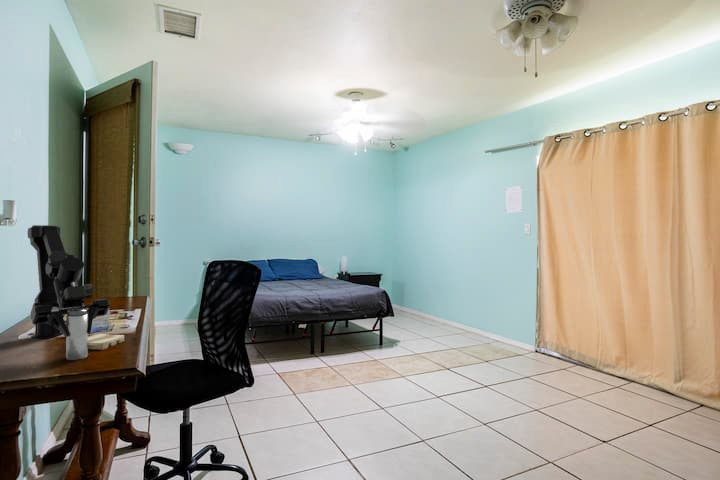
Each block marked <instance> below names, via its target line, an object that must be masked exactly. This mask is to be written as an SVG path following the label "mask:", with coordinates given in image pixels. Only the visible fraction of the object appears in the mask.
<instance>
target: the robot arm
mask: <svg viewBox="0 0 720 480" xmlns="http://www.w3.org/2000/svg"><path fill="white" fill-rule="evenodd" d="M61 237H62V236H61V227H60V226H58V225H54V224H53V225H49V224H47V225H46V224H43V225H42V224H41V225H39V224H34V225H31V226H30V227H29V228H27V238H28V239H29V242H30V245H31V247H33V248H34V249H35V251H36V257H37V271H38V272H37V273H38V285H39V292H38V294H37V295H36V297H35V298H34V302H33V304H32V307H31V310H30V319H31V323H32V324H33V325H35V331H34V332H35V333H34V335H30V336H31V338H33V339H51V338H54V337H57V336H61V335H63V336H64V337H65V338H66V337H68V330H67V327H66V322H65V319H64V318H65V317H66V316H67V311H68V310H71V309H80V308H84V309H87V314H88V334H91V333H90V332H91V327H92V321H93V319H95V318H96V316H104V315H106V313H107V311H108V309H109V310H110V306H111V302H110V300H109V299H107V298H101V299H93V301H92V303H91V304H88V305H86V304H85V303H86V297H88V296H92V295H93V294H94V288H93V287H94V286H93V284H92V283H85V284H84V285H78V282H77V281H79V280H80V279H81V275H82V273H83V270H84V267H85V262H84V261H83V260H81V258H78V257H75V255H74V254H69V253H67V252H66V250H65V246H64V243H63V240H62V238H61ZM84 304H85V305H84Z"/></svg>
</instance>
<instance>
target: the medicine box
mask: <svg viewBox="0 0 720 480" xmlns="http://www.w3.org/2000/svg"><path fill="white" fill-rule="evenodd" d="M109 328H110V308H109V309H108V311H107V313H106V315H104V316H96V318H95V319H93V321H92V327H91V332H90V333H89V334H93V333H95V334H96V333H98V332H101V331H104V330H107V329H109Z"/></svg>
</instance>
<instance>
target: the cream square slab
mask: <svg viewBox="0 0 720 480" xmlns="http://www.w3.org/2000/svg"><path fill="white" fill-rule="evenodd" d="M123 342H125V335H124V334H111V333H110V334H109V333H106V334H105V333H95V334H92V335H88V350H98V351H99V350H101V351H102V350H106V349H108V348H109V347H113V346H115V345H117V344H120V343H123Z"/></svg>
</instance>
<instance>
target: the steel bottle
mask: <svg viewBox="0 0 720 480" xmlns="http://www.w3.org/2000/svg"><path fill="white" fill-rule="evenodd" d="M65 319H66V322H65V324H66V327H67V330H68V337H66V336H65V346H66V347H65V359H66V360H68V361H76V360H77V361H78V360H82V359H85V358H87V357H88V356H89V355H88V354H89V353H88V352H89V349H88V337H89V335H88V334H89V333H88V314H87V309H84V308H80V309H71V310H68V311H67V315H65Z"/></svg>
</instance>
